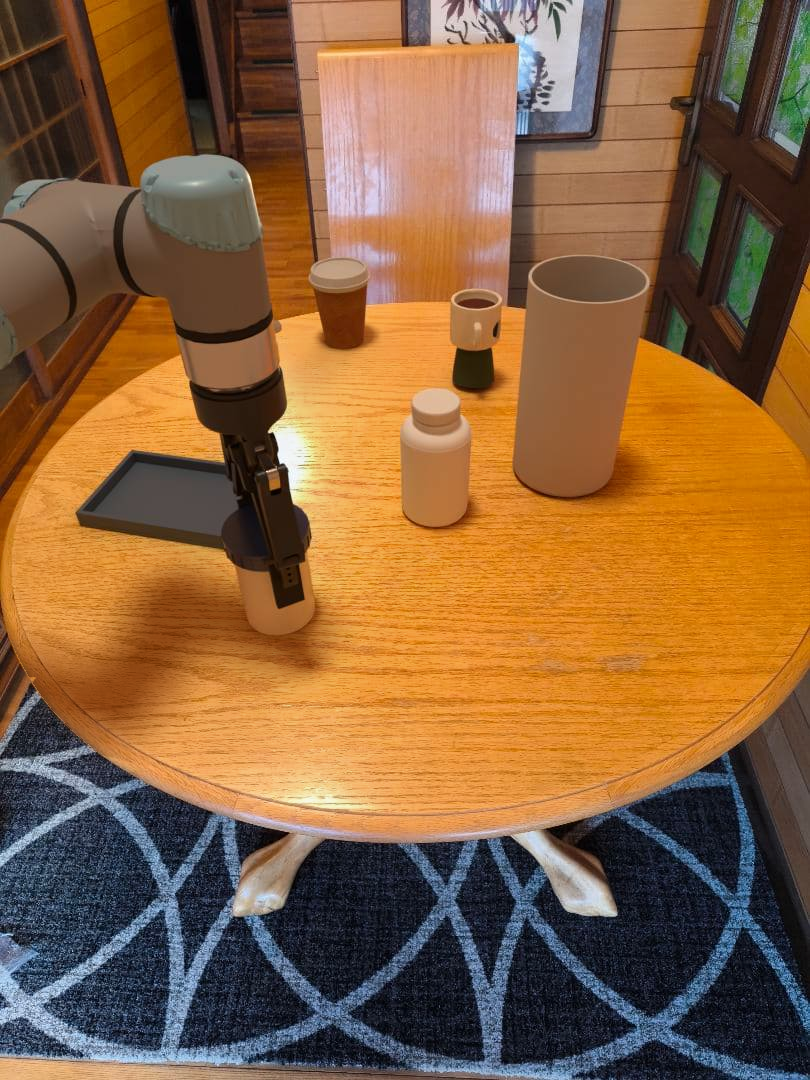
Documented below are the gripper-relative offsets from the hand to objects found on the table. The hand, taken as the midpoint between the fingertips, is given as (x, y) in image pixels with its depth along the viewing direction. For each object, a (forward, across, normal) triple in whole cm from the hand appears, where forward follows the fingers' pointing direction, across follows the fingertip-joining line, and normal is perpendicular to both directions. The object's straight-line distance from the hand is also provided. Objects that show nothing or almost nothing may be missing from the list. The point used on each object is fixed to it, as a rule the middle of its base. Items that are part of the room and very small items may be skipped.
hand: (275, 573), depth 76 cm
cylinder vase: (+6, +6, -40) cm, 41 cm away
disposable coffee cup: (+5, +52, -29) cm, 60 cm away
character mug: (+6, +31, -41) cm, 51 cm away
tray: (+5, +23, +5) cm, 24 cm away
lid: (-6, 0, 0) cm, 6 cm away
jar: (+5, 0, 0) cm, 5 cm away
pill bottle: (+6, +7, -22) cm, 24 cm away
